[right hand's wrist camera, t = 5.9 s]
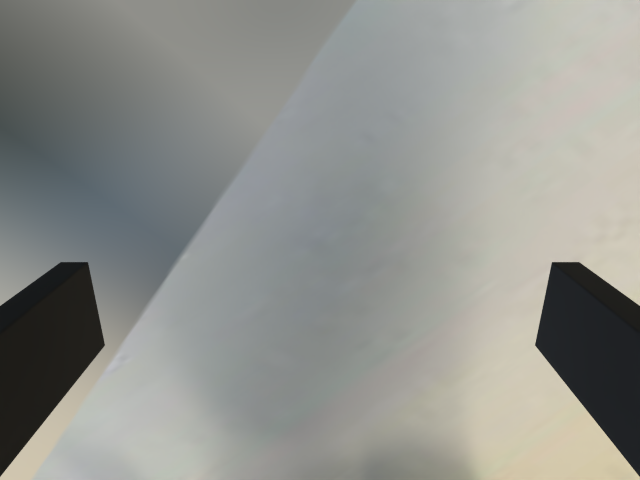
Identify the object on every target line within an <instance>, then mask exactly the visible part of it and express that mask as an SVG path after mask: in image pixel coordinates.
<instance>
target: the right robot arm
mask: <svg viewBox="0 0 640 480" xmlns="http://www.w3.org/2000/svg"><path fill="white" fill-rule="evenodd" d="M104 345H105V344H104V339H103V334H102V329H101V324H100V319H99V314H98V310H97V305H96V300H95V295H94V290H93V285H92V280H91V275H90V270H89V265H88V262H61V263H59V264H58V265H56V266H55V267H54V268H52V269H51V270H50V271H48V272H47V273H45V274H44V275H43V276H41V277H40V278H38V279H37V280H36V281H34V282H33V283H31V284H30V285H29V286H27V287H26V288H25V289H23V290H22V291H20V292H19V293H18V294H16V295H15V296H14V297H12V298H11V299H9V300H8V301H7V302H5V303H4V304H2V305H1V306H0V476H1V475H2V474H3V472H4V471H5V470H6V469H7V467H8V466H9V465H10V464H11V462H12V461H13V460H14V459H15V457H16V456H17V455H18V454H19V452H20V451H21V450H22V449H23V447H24V446H25V445H26V444H27V442H28V441H29V440H30V439H31V437H32V436H33V435H34V434H35V432H36V431H37V430H38V429H39V427H40V426H41V425H42V424H43V422H44V421H45V420H46V418H47V417H48V416H49V415H50V413H51V412H52V411H53V410H54V408H55V407H56V406H57V405H58V403H59V402H60V401H61V400H62V398H63V397H64V396H65V395H66V393H67V392H68V391H69V390H70V388H71V387H72V386H73V385H74V383H75V382H76V381H77V379H78V378H79V377H80V376H81V374H82V373H83V372H84V371H85V370H86V368H87V367H88V366H89V364H90V363H91V362H92V361H93V359H94V358H95V357H96V356H97V354H98V353H99V352H100V351H101V349H102V348H103V347H104ZM535 346H536V347H537V348H538V349H539V351H540V352H541V353H542V354H543V356H544V357H545V358H546V359H547V361H548V362H549V363H550V365H551V366H552V367H553V368H554V370H555V371H556V372H557V373H558V375H559V376H560V377H561V378H562V380H563V381H564V382H565V383H566V385H567V386H568V387H569V388H570V390H571V391H572V392H573V393H574V395H575V396H576V397H577V398H578V400H579V401H580V402H581V403H582V405H583V406H584V407H585V408H586V410H587V411H588V412H589V413H590V415H591V416H592V417H593V418H594V420H595V421H596V422H597V424H598V425H599V426H600V427H601V429H602V430H603V431H604V432H605V434H606V435H607V436H608V437H609V439H610V440H611V441H612V442H613V444H614V445H615V446H616V447H617V449H618V450H619V451H620V452H621V454H622V455H623V456H624V457H625V459H626V460H627V461H628V462H629V464H630V465H631V466H632V467H633V469H634V470H635V471H636V472H637V474H638V475H639V476H640V306H639V305H638V304H636V303H635V302H633V301H632V300H631V299H629V298H628V297H627V296H625V295H624V294H622V293H621V292H620V291H618V290H617V289H615V288H614V287H613V286H611V285H610V284H609V283H607V282H606V281H604V280H603V279H602V278H600V277H599V276H597V275H596V274H595V273H593V272H592V271H591V270H589V269H588V268H586V267H585V266H584V265H582V264H581V263H579V262H552V265H551V270H550V275H549V280H548V285H547V290H546V295H545V300H544V305H543V309H542V314H541V319H540V324H539V329H538V334H537V339H536V344H535Z"/></svg>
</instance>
